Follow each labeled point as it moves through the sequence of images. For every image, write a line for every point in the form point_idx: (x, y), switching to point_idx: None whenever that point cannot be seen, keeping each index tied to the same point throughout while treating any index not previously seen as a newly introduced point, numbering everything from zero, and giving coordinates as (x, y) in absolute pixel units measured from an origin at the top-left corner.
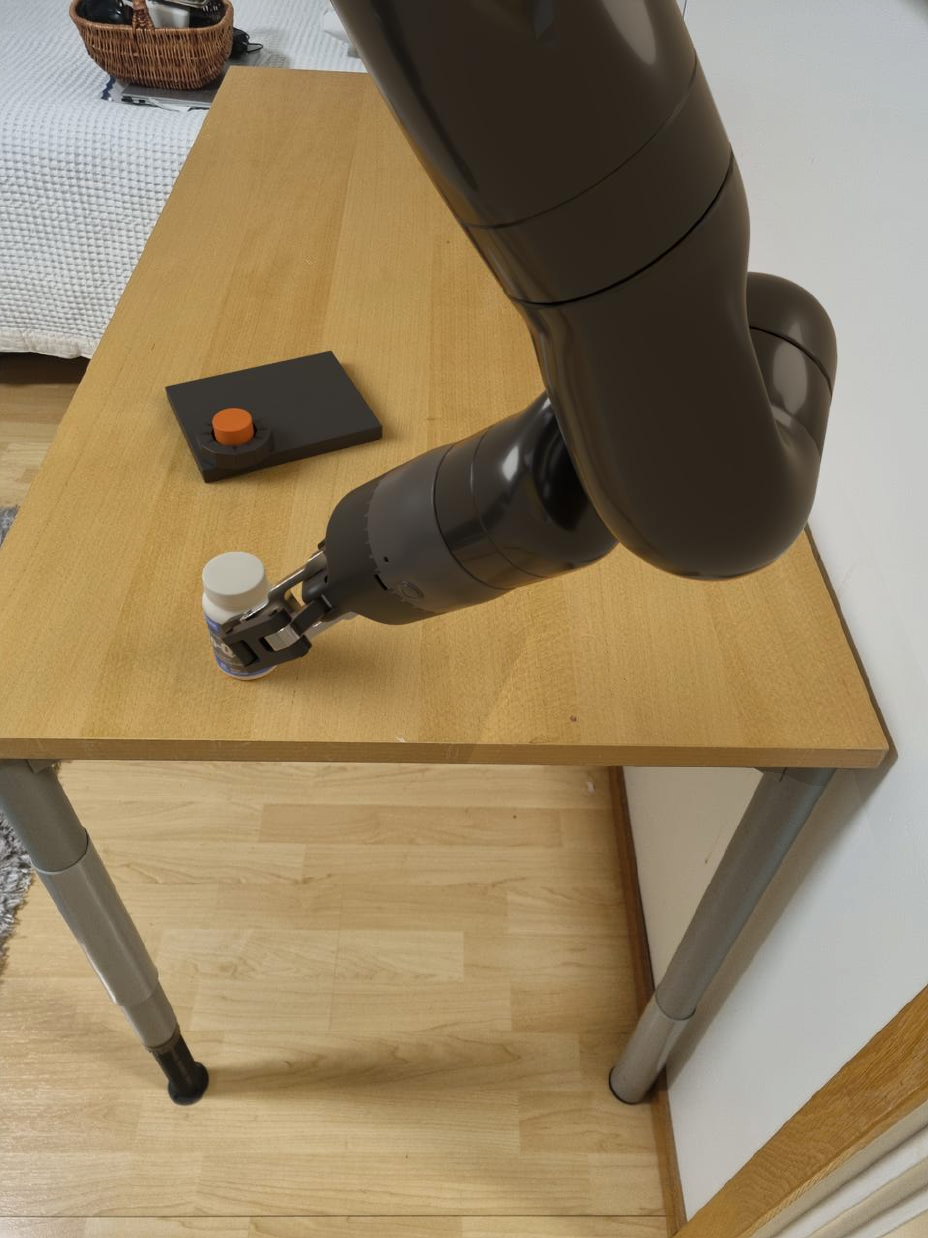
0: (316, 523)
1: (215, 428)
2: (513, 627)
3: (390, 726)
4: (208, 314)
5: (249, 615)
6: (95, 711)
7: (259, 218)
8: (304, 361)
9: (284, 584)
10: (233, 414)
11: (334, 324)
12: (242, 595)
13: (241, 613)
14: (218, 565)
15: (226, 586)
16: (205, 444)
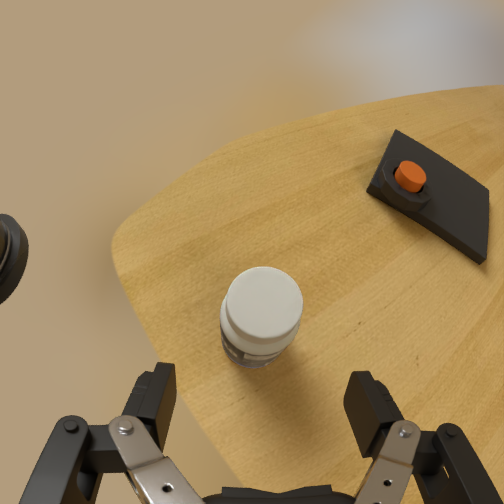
0: (399, 283)
1: (399, 167)
2: (409, 488)
3: (260, 487)
4: (443, 124)
5: (112, 438)
6: (141, 271)
7: (488, 117)
8: (473, 182)
9: (147, 499)
10: (416, 169)
11: (495, 180)
12: (243, 333)
13: (163, 389)
14: (263, 279)
15: (241, 309)
16: (385, 170)
